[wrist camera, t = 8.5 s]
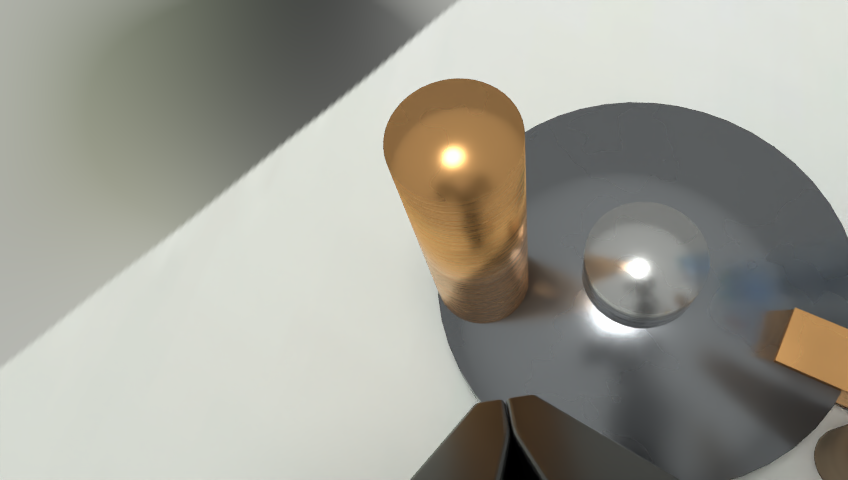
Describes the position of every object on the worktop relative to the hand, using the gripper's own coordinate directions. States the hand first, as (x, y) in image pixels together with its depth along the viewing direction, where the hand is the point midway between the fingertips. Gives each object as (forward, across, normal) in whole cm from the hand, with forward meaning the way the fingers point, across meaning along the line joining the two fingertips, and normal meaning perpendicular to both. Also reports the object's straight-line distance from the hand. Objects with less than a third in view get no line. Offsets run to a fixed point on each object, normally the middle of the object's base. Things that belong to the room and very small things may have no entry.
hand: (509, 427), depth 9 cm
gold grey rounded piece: (+12, +6, -6) cm, 15 cm away
